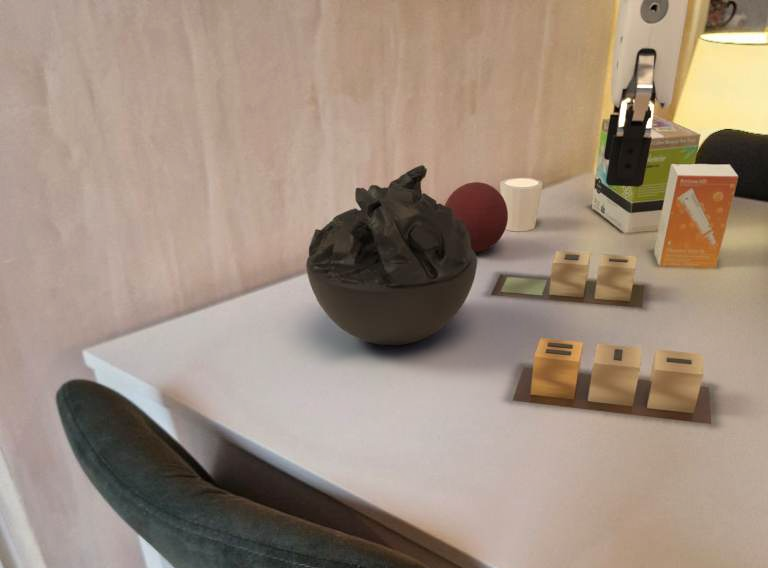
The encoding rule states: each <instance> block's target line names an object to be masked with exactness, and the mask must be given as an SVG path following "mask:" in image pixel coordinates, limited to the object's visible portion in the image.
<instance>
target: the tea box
mask: <svg viewBox="0 0 768 568" xmlns="http://www.w3.org/2000/svg"><path fill="white" fill-rule="evenodd" d="M609 120H610V118H606V119H605V118H603V119H602V123H601V124H602V125H601V129H600V136H599V137H600V138H599V146H598V147H599V148H598V154H597V163H596V168H595V169H596V170H595V177H594V187H593V193H592V203H591V208H592V210H594V211H596V212H597V213H598V214H600V215H601V216H602V217H603V218H605V219H606V220H608V221H609V222H610V223H611V224H612V225H614V226H615V227H616V228H617V229H618V230H619V231H620V232H622V233H625V234H632V233H641V232H653V231H654V232H655V231H658V228H659V223H660V218H661V213H662V208H663V203H664V198H665V193H666V188H667V182H668V177H669V172H670V167H671V164H696V159H697V156H698V151H699V145H700V139H701V133H698V132H696V131H693V130H692V129H689V128H687V127H685V126H682V125H680V124H678V123H676V122H673V121H672V120H669V119H668V118H665V117H663V116H661V115H658V114H653V121H652V129H651V134H650V137H652V139H651V144H650V150H649V155H648V160H647V165H646V171H645V176H644V181H643V184H642V185H641V186H639V187H633V186H612V185H608V184H607V183H606V177H607V171H608V164H609V160H606V159H605V158H604V152H605V146H606V140H607V133H608V127H609Z"/></svg>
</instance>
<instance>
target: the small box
mask: <svg viewBox="0 0 768 568" xmlns="http://www.w3.org/2000/svg"><path fill="white" fill-rule="evenodd" d="M738 179H739V175H738V174H737V172H736V171H735V169H734V168H733V167H732V165H731V164H730V163H728V164H726V163H725V164H711V163H710V164H709V163H695V164H671V167H670V172H669V177H668V182H667V188H666V193H665V198H664V203H663V208H662V213H661V218H660V223H659V228H658V230H657V235H656V241H655V245H654V251H653V253H654V255H655V259H656V261H657V264H658V266H659V267H678V268H679V267H682V268H685V267H686V268H717V264H718V261H719V257H720V252H721V249H722V245H723V240H724V236H725V233H726V228H727V224H728V221H729V216H730V213H731V208H732V205H733V200H734V197H735V193H736V188H737V184H738Z"/></svg>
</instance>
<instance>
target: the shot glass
mask: <svg viewBox="0 0 768 568" xmlns="http://www.w3.org/2000/svg"><path fill="white" fill-rule="evenodd" d="M543 184H544V183H543V181H542V180H539V179H536V178H531V177H510V178H506V179H503V180H501V181H500V183H499V189H500V190H499V193H500V194H501V195H502V197H503V198H504V200H505V203H506V206H507V211H508V221H507V226H506V229H505V231H510V232H528V231H532V230H534V229H535V227H536V223H537V217H538V212H539V207H540V203H541V196H542V192H543V191H542V190H543Z"/></svg>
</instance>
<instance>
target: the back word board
mask: <svg viewBox="0 0 768 568" xmlns="http://www.w3.org/2000/svg"><path fill="white" fill-rule="evenodd" d="M591 254H592V253H591V252H581V251H566V250H556V251H555V254H554V257H553V260H552V263H551V273H550V277H544V276H543V277H542V276H541V277H540V276H530V275H529V276H528V275H518V274H517V275H516V274H502V273H500V275H499V276H498V279H497V281H496V283H495V285H494V287H493V288H492V291H491V293H490V296H496V297H509V298H519V299H532V300H543V301H555V302H565V303H566V302H568V303H580V304H590V305H591V304H592V305H600V306H601V305H602V306H613V307H614V306H615V307H625V308H637V309H643V307H644V296H645V295H644V294H645V293H644V292H645V285H644V284H643V285H642V284H634V280H635V275H636V268H637V262H638V261H637V259H638V256H637V255H625V254H609V253H601V256H600V259H599V263H598V270H597V277H596V281H591V280H588V276H589V270H590V262H591V256H592V255H591Z"/></svg>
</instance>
